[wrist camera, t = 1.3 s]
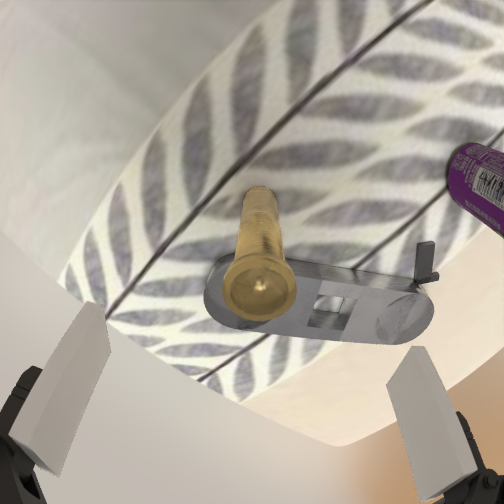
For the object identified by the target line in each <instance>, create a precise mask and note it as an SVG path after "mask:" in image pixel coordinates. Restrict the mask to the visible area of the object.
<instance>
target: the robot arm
mask: <svg viewBox="0 0 504 504" xmlns="http://www.w3.org/2000/svg"><path fill="white" fill-rule="evenodd" d="M110 353H111V348H110V343H109V338H108V332H107V326H106V320H105V314H104V308H103V305H101V304H97V303H92V302H88V301H87V302H86V303H85V305H84V306H83V308H82V309H81V311H80V312H79V314H78V315H77V317H76V318H75V319H74V321H73V323H72V324H71V325H70V327H69V329H68V330H67V332H66V333H65V335H64V336H63V338H62V339H61V341H60V343H59V344H58V346H57V347H56V349H55V351H54V352H53V354H52V355H51V357H50V359H49V361H48V362H47V364H46V365H45V367H44V369H40V368H38V367H35V366H31V367H30V368H29V369H28V370H26V371H25V372H24V373H23V374H22V375H21V377H20V378H19V380H18V382H17V383H16V386H15V387H14V389H13V390H12V393H11V395H9V397H8V399H7V401H6V403H5V404H4V406H3V408H2V410H1V412H0V504H47V502H46V500H45V498H44V495H43V493H42V490H41V488H40V485H39V483H38V480H37V477H36V474H35V472H34V471H33V468H34V465H35V464H36V465H37V466H38V467H39V468H40V469H41V470H44V471H45V472H48V473H50V474H52V475H54V476H56V477H60V474H61V471H62V468H63V465H64V462H65V460H66V457H67V454H68V451H69V449H70V446H71V444H72V441H73V439H74V436H75V433H76V431H77V428H78V426H79V423H80V421H81V419H82V416H83V414H84V412H85V409H86V407H87V404H88V402H89V400H90V397H91V395H92V393H93V391H94V388H95V386H96V384H97V381H98V379H99V377H100V375H101V373H102V370H103V368H104V366H105V364H106V362H107V360H108V357H109V355H110ZM386 387H387V390H388V393H389V396H390V399H391V402H392V405H393V408H394V411H395V414H396V418H397V421H398V424H399V427H400V431H401V434H402V437H403V441H404V444H405V448H406V451H407V455H408V459H409V462H410V466H411V470H412V473H413V478H414V481H415V486H416V490H417V494H418V498H419V503H421V502H425V501H428V500H432V499H434V498H436V497H437V496H439V495H441V494H444V497H443V498H441V499H440V500H438V501H436V502H435V503H433V504H504V475H497V473H496V472H495V471H494V470H492V469H486V467H485V465H484V463H483V460H482V458H481V455H480V452H479V450H478V447H477V444H476V442H475V439H473V434H472V432H470V427H469V425H468V423H467V420H466V419H465V418H464V416H463V415H462V414H461V413H460V412H459V411H458V412H455V410H454V407H453V405H452V403H451V401H450V398H449V396H448V394H447V392H446V390H445V387H444V385H443V383H442V381H441V379H440V377H439V375H438V373H437V370H436V368H435V366H434V364H433V362H432V360H431V358H430V356H429V354H428V352H427V350H426V348H425V346H411V348H410V350H409V351H408V353H407V354H406V356H405V358H404V359H403V361H402V362H401V364H400V365H399V367H398V368H397V370H396V371H395V373H394V374H393V376H392V377H391V379H390V380H389V382H388V383H387V384H386Z"/></svg>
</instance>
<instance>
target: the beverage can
mask: <svg viewBox="0 0 504 504" xmlns="http://www.w3.org/2000/svg"><path fill="white" fill-rule="evenodd" d="M448 184H449V190H450V193H451V195H452V197H453V199H454V201H455V202H456V203H457V204H458V205H460V206H461V207H462V208H464V209H465V210H467V211H468V212H469V213H471V214H472V215H474V216H475V217H476V218H478V219H479V220H480V221H482V222H483V223H484V224H486V225H487V226H488V227H490V228H491V229H492V230H493V231H495V232H496V233H497V234H499V235H500V236H501V237H502V238H504V153H502V152H500V151H497V150H495V149H492V148H489V147H486V146H484V145H481V144H478V143H471V144H468V145H466V146H464V147H462V148H461V149H460V150H459V151H458V152H457V153H456V155H455V156H454V158H453V160H452V162H451V165H450V169H449V175H448Z"/></svg>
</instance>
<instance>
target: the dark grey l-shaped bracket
mask: <svg viewBox="0 0 504 504" xmlns="http://www.w3.org/2000/svg"><path fill="white" fill-rule="evenodd" d="M434 249H435V243H434V242H433V241H430V242H424V243H418V244H417V254H416V265H415V274H414V281H415V282H416V283H417V284H424V283H429V282H434V281H438V280H439V273H438V272H434V273H432V266H433V258H434Z"/></svg>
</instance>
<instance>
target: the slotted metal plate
mask: <svg viewBox="0 0 504 504" xmlns="http://www.w3.org/2000/svg"><path fill="white" fill-rule="evenodd" d="M234 259H235V253H233V254H229V255H226V256H224V257H222V258H221V259H219V260H218V261H217V262H216V263H215V264H214V265H213V267H212V268H211V270H210V273H209V276H208V279H207V283H206V287H205V291H204V304H205V307H206V309H207V311H208V313H209V314H210V315H211V316H212V318H214V319H215V320H216V321H217V322H219V323H220V324H222V325H224V326H227V327H230V328H234V329H239V330H246V331H253V332H260V333H268V334H276V335H284V336H292V337H301V338H311V339H321V340H331V341H343V342H355V343H369V344H386V345H398V344H403V343H406V342H409V341H411V340H413V339H414V338H416V337H417V336H419V335H420V334H421V333H422V332H423V331H424V330H425V329H426V328H427V327H428V325H429V324H430V322H431V320H432V318H433V314H434V306H433V303H432V301H431V299H430V298H429V296H428V295H427V293H426V292H425V291H424V289H423V288H422V286H421V285H420V284H417V283H416V282H415V281H414V280H413V279H408V278H402V277H396V276H390V275H383V274H377V273H371V272H365V271H359V270H352V269H346V268H340V267H334V266H328V265H321V264H315V263H309V262H303V261H297V260H290V259H285V262H287V263H288V265H289V266H290V267H291V269H292V270H293V273H294V276H295V280H296V286H297V295H296V299H295V301H294V303H293V305H292V306H291V308H290V309H289V310H288V311H287V312H285V313H284V314H283V315H281V316H279V317H277V318H275V319H272V320H267V321H252V320H248V319H244V318H242V317H240V316H238V315H236V314H235V313H234V312H232V311H231V310H230V309H229V308H228V306H227V305H226V303H225V301H224V299H223V295H222V286H223V281H224V276H225V273H226V270H227V269H228V267H229V266H230V265H231V263H232V262H234ZM318 294H321V295H329V296H336V297H344V300H343V303H342V305H341V308H340V310H339V313H334V312H326V311H318V310H313V307H314V304H315V301H316V299H317V296H318Z"/></svg>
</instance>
